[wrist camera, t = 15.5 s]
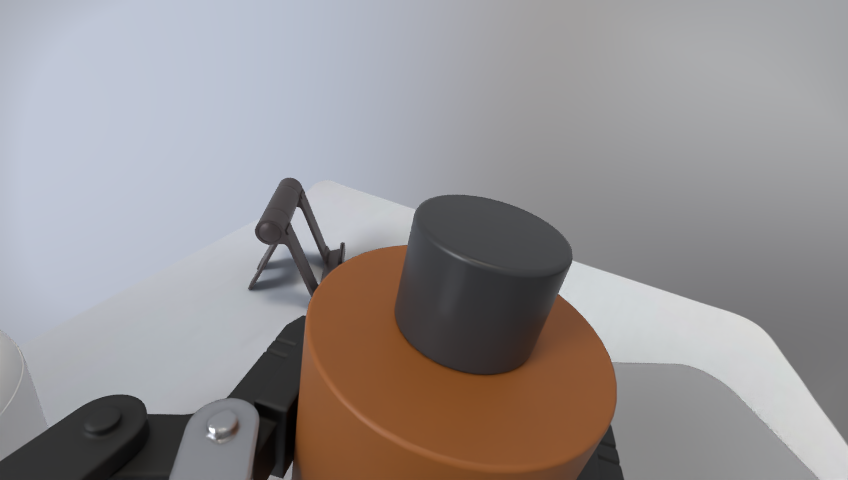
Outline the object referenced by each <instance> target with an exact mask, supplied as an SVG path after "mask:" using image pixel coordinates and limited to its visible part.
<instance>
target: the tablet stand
mask: <svg viewBox="0 0 848 480" xmlns="http://www.w3.org/2000/svg"><path fill="white" fill-rule="evenodd" d="M296 207H300V208H301V209H302V211H303V213H304V216H305V218H306V220H307V223H308V225H309V228H310V230H311V232H312V235H313V237H314V240H315V242H316V244H317V247H318V249H319V251H320V254H321V256H322V259H323V261H324V269H323V274H322V279H321V282H322V280H323V279H324V278H325V277H326V276H327V275H328V274H329V273H330V272H331V271H332V270H334V269H335V268H336V267H338V266H339V265H340V264H342V263H344V257H345V243H343V242H342V243H341V245H340V249H337V250H332V251H330V250H329V248H328V246H326V244H325V242H324V239H323V237H322V234H321V232H320V229H319V227H318V224H317V222H316V220H315V217H314V215H313V212H312V210H311V207H310V205H309V202H308V200H307V198H306V195H305V192H304V190H303V188H302V186H301V184H300V182H299V181H297V180H296V179H294V178H285V179H283V180H282V181H281V182H280V184H279V186H278V188H277V189H276V191H275V193H274V195H273V197H272V198H271V200H270V202H269V204H268V206H267V208H266V209H265V211H264V213H263V215H262V217H261V219H260V221H259V222H258V224H257V226H256V229H255V234H256V236H257V238H258V239H259V240H260V241H261V242H263V243H265V244H268V245H270V246H269V248H268V249H267V251H266V253H265V255H264V256H263V258H262V259H261V261H260V263H259V265H258V268H257V270H258V271H257V273H256V274H255V276H254V278H253V279H252V281H251V283H250V285H249V288H248V289H249V290H251V289H252V288H253V286H254V284H255V283H256V281H257V279H258V278H259V276H260V274H261V273H262V271H263V269H264V267H265V266H266V264H267V262H268V261H269V259H270V257H271V255H272V254H273V252H274V250H275V249H276V247H277V245H278V244H285V245H286V246H287V247H288V248H289V250H290V252H291V254H292V256H293V259H294V261H295V263H296V265H297V267H298V269H299V271H300V274H301V276H302V278H303V280H304V282H305V284H306V287H307V289H308V291H309V293H310V295H311V297H312V296H313V294H314V292H315V290H316V289H317V287H318V286H319V285H318V284H317V281H316V279H315V277H314V275H313V272H312V270H311V268H310V266H309V263H308V261H307V259H306V257H305V254H304V252H303V250H302V248H301V245H300V243H299V241H298V239H297V236H296V234H295V232H294V230H293V228H292V225H291V223H290V221H291V219H292V216H293V214H294V211H295V209H296Z"/></svg>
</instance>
